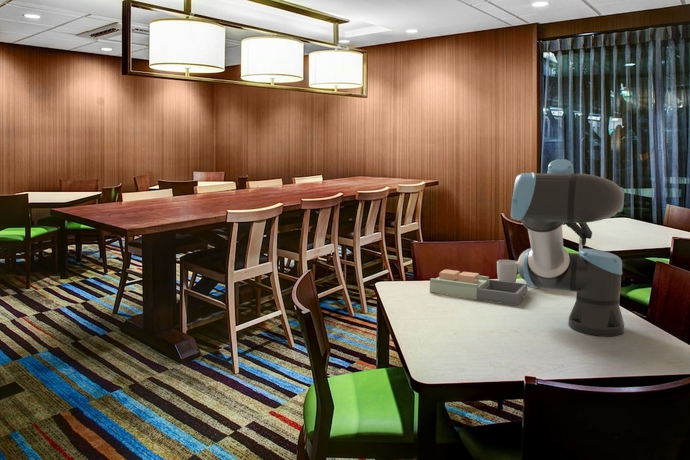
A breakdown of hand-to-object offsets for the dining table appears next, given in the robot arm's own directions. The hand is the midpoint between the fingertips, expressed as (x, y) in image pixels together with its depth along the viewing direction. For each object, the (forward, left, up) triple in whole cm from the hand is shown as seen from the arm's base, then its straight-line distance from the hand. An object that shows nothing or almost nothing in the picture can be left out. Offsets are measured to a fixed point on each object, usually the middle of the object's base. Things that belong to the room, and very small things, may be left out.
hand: (560, 247), depth 187 cm
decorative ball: (+15, +10, -18) cm, 26 cm away
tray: (-10, +17, -18) cm, 27 cm away
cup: (+5, +19, -18) cm, 27 cm away
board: (-10, +33, -18) cm, 39 cm away
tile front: (-10, +30, -14) cm, 35 cm away
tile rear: (-10, +37, -14) cm, 41 cm away
